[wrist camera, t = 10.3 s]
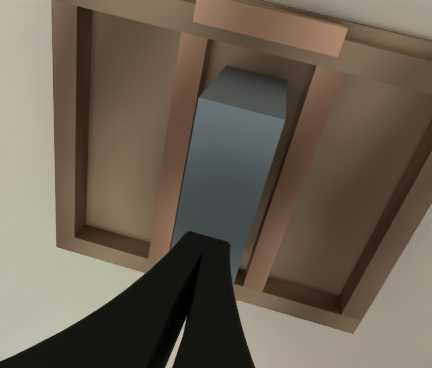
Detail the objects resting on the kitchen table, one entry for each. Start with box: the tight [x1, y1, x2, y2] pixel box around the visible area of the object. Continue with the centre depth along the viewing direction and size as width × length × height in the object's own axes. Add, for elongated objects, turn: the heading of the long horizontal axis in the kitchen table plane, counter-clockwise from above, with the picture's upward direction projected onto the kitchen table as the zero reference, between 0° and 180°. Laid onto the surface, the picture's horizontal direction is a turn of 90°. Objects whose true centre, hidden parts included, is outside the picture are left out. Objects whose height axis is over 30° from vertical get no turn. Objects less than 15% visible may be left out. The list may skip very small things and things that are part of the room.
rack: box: [52, 0, 432, 334], centre depth 16 cm, size 16×14×3 cm
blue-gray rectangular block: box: [171, 65, 287, 320], centre depth 15 cm, size 2×9×5 cm, turn 168°
